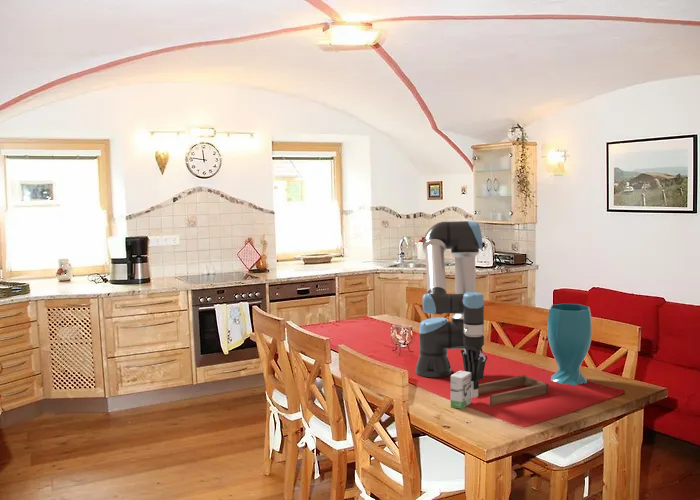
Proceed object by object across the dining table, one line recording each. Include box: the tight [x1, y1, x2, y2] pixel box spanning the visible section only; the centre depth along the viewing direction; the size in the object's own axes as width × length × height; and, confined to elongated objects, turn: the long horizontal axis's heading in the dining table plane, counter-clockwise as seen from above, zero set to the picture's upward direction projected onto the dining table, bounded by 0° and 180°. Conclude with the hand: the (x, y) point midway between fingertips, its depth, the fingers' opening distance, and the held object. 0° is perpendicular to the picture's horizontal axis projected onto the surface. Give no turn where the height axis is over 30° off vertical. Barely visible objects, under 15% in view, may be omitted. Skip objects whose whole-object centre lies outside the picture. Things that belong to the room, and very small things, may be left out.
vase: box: [546, 303, 593, 386], centre depth 269 cm, size 17×17×30 cm
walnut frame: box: [478, 375, 549, 406], centre depth 254 cm, size 13×27×4 cm, turn 117°
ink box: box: [450, 370, 472, 410], centre depth 243 cm, size 9×5×12 cm, turn 146°
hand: (473, 396), depth 247 cm, fingers closed
